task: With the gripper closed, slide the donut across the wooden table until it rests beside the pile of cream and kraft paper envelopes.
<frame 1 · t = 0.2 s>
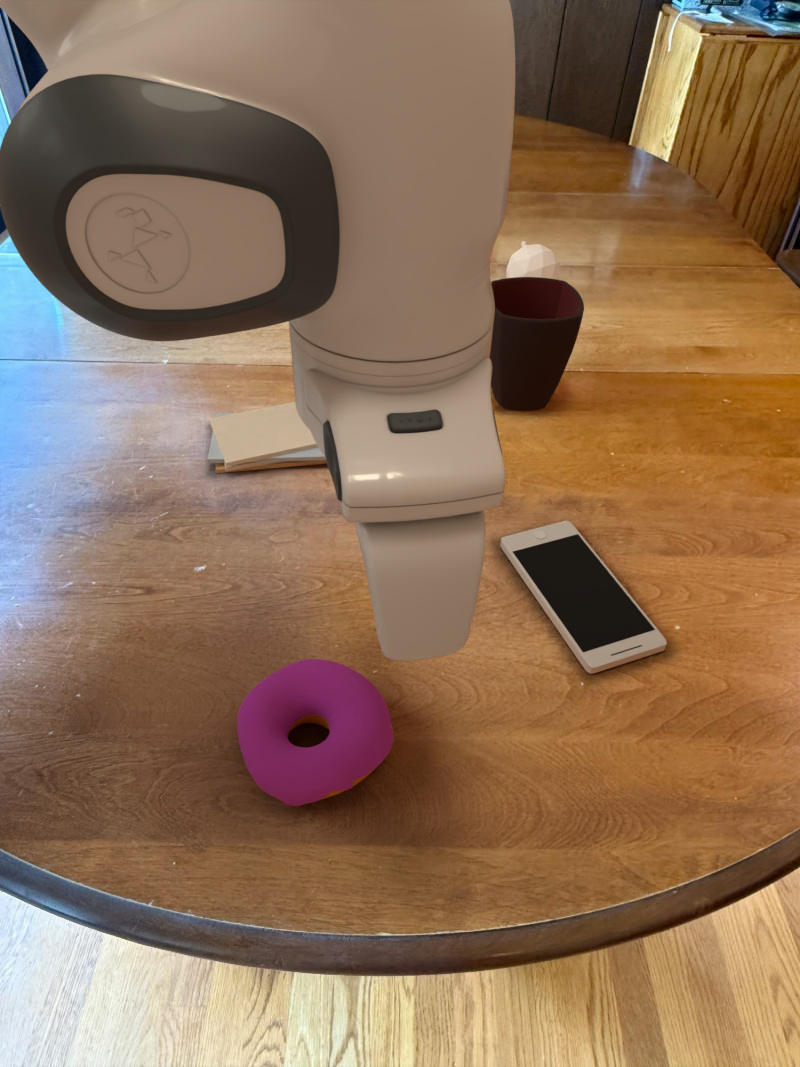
hand: (387, 580, 45), 16 cm above the table, tool pointing down, fingers open, 8 cm apart
smartphone: (576, 595, 65), on the table
ornament: (529, 298, 106), on the table
letter pile: (275, 444, 80), on the table
donut: (316, 747, 54), on the table
cup: (517, 389, 89), on the table
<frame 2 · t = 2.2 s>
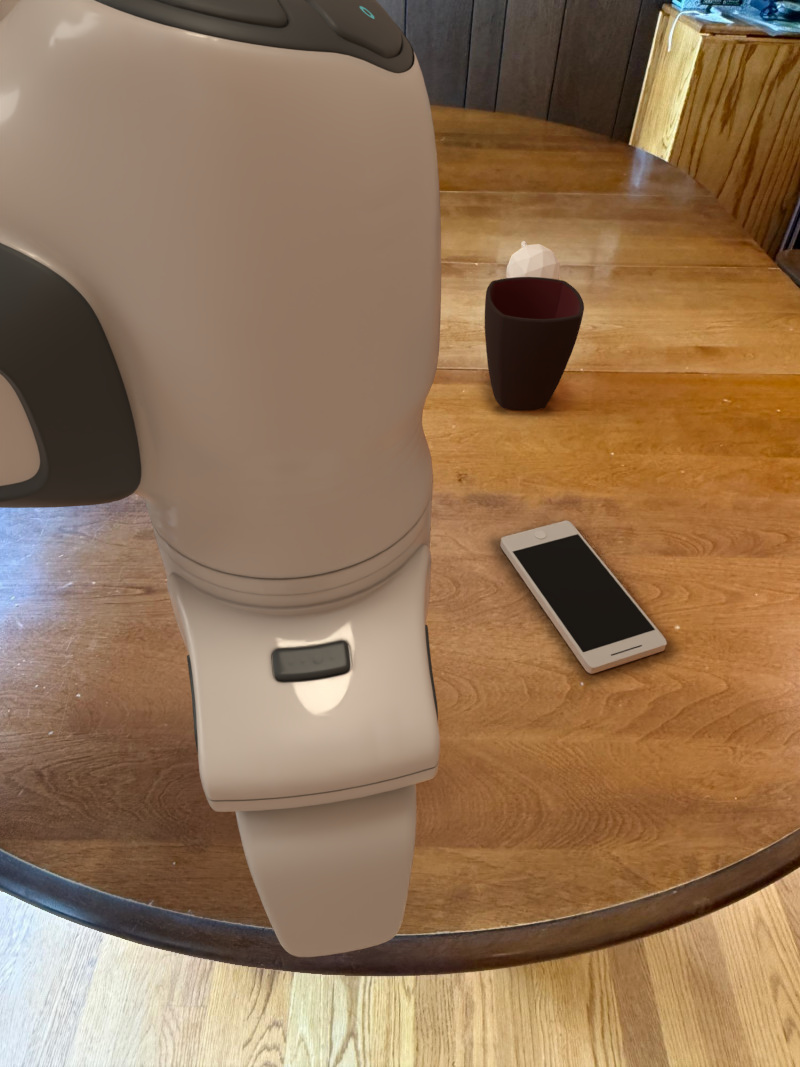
hand: (323, 763, 35), 16 cm above the table, tool pointing down, fingers closed
nothing on the table moved.
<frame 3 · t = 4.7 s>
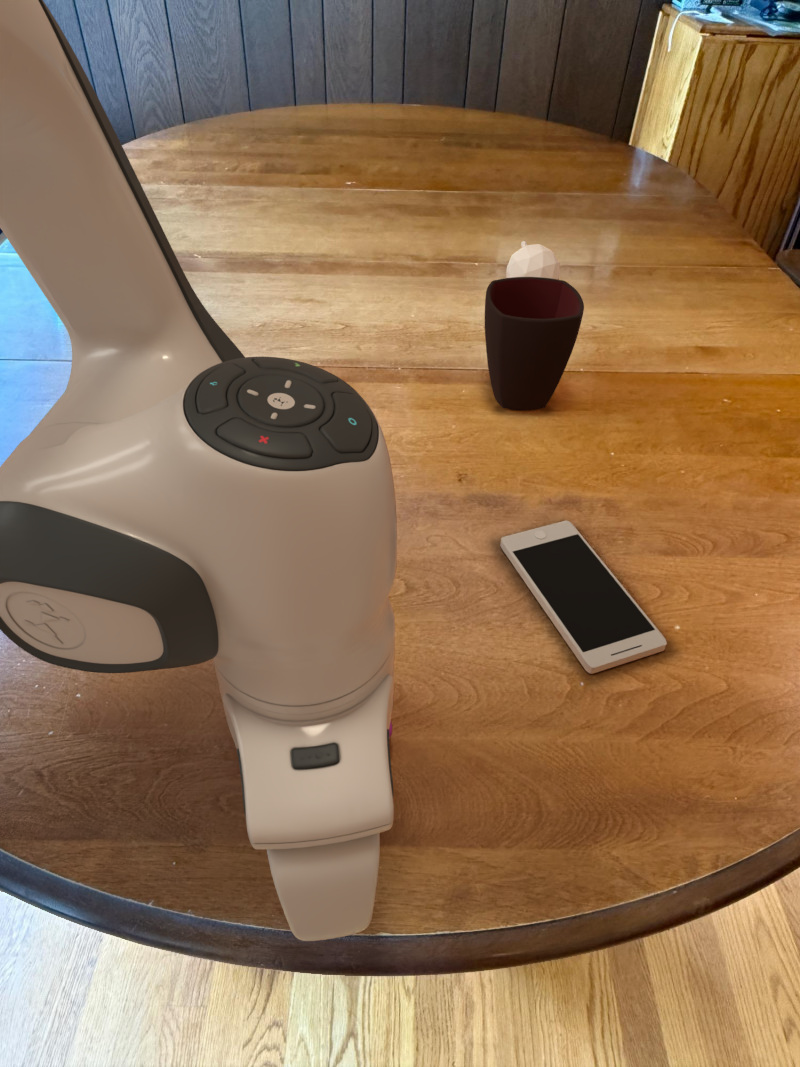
hand: (320, 802, 48), 3 cm above the table, tool pointing down, fingers closed
donut: (315, 737, 55), on the table, touching gripper
everything else where it was.
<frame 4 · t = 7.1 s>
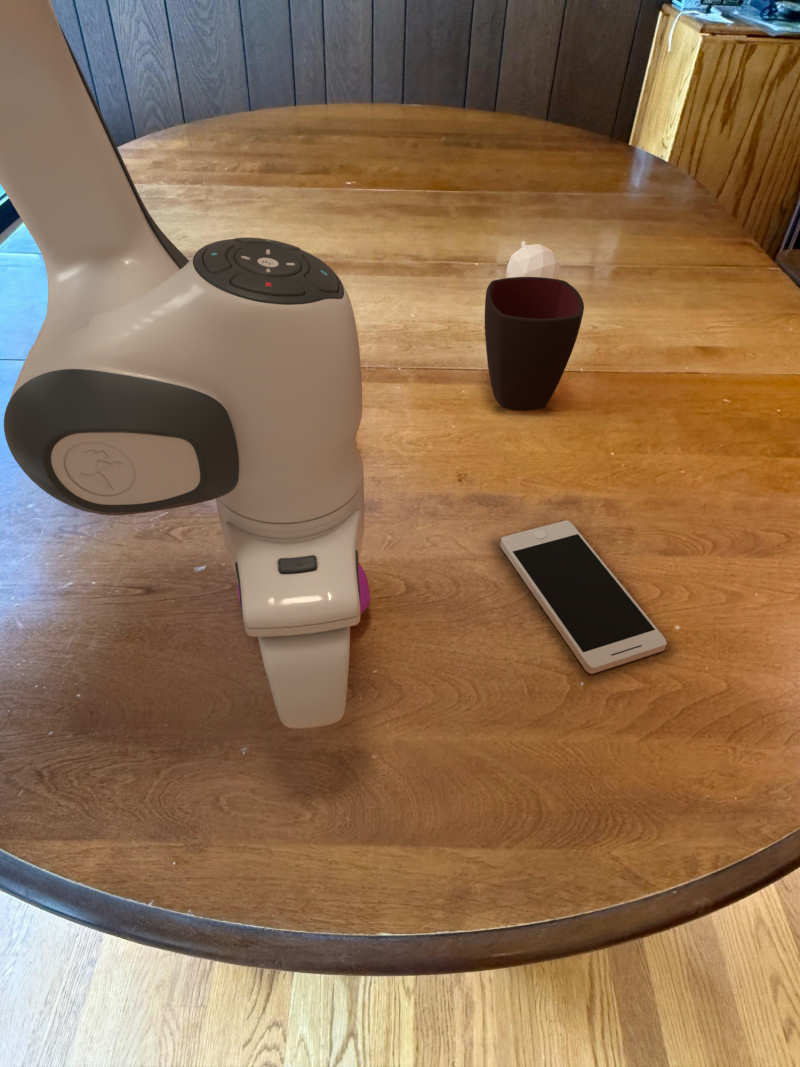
hand: (306, 652, 57), 3 cm above the table, tool pointing down, fingers closed
donut: (305, 611, 64), on the table, touching gripper
everything else where it was.
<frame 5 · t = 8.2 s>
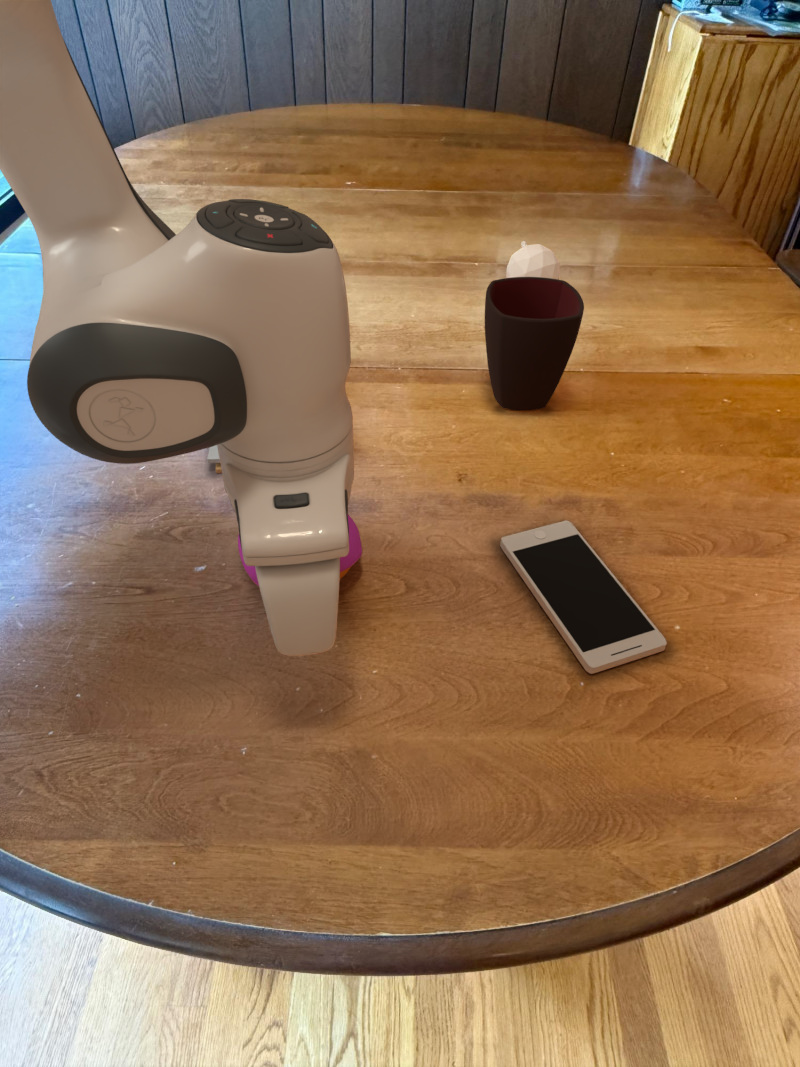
hand: (301, 597, 61), 3 cm above the table, tool pointing down, fingers closed
donut: (301, 564, 68), on the table, touching gripper
everything else where it was.
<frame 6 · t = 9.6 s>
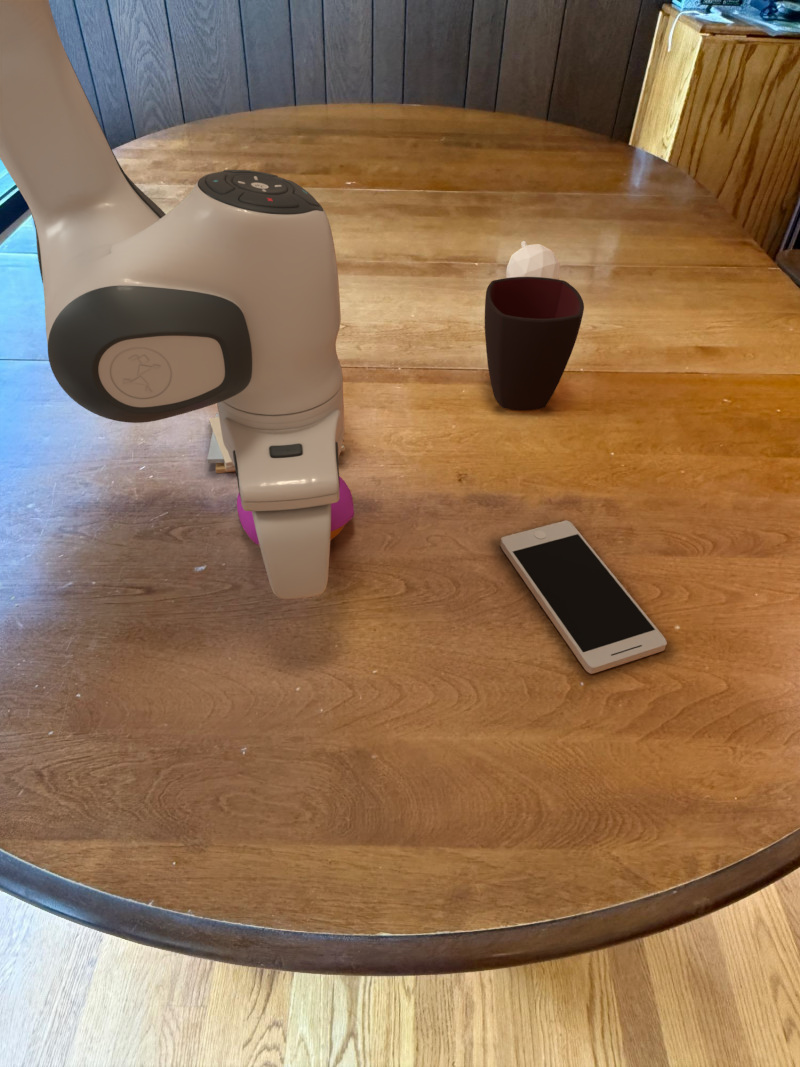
hand: (296, 553, 65), 3 cm above the table, tool pointing down, fingers closed
donut: (296, 525, 71), on the table, touching gripper
everything else where it was.
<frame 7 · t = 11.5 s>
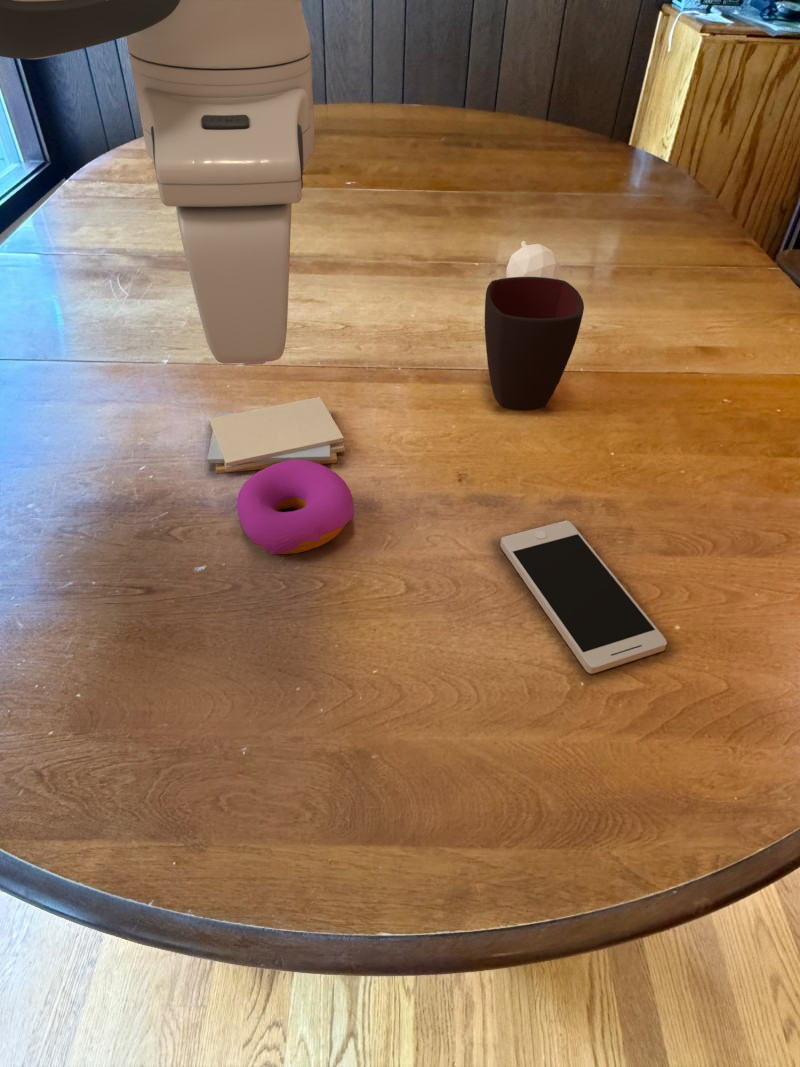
hand: (253, 353, 49), 23 cm above the table, tool pointing down, fingers closed
donut: (296, 525, 71), on the table
everything else where it was.
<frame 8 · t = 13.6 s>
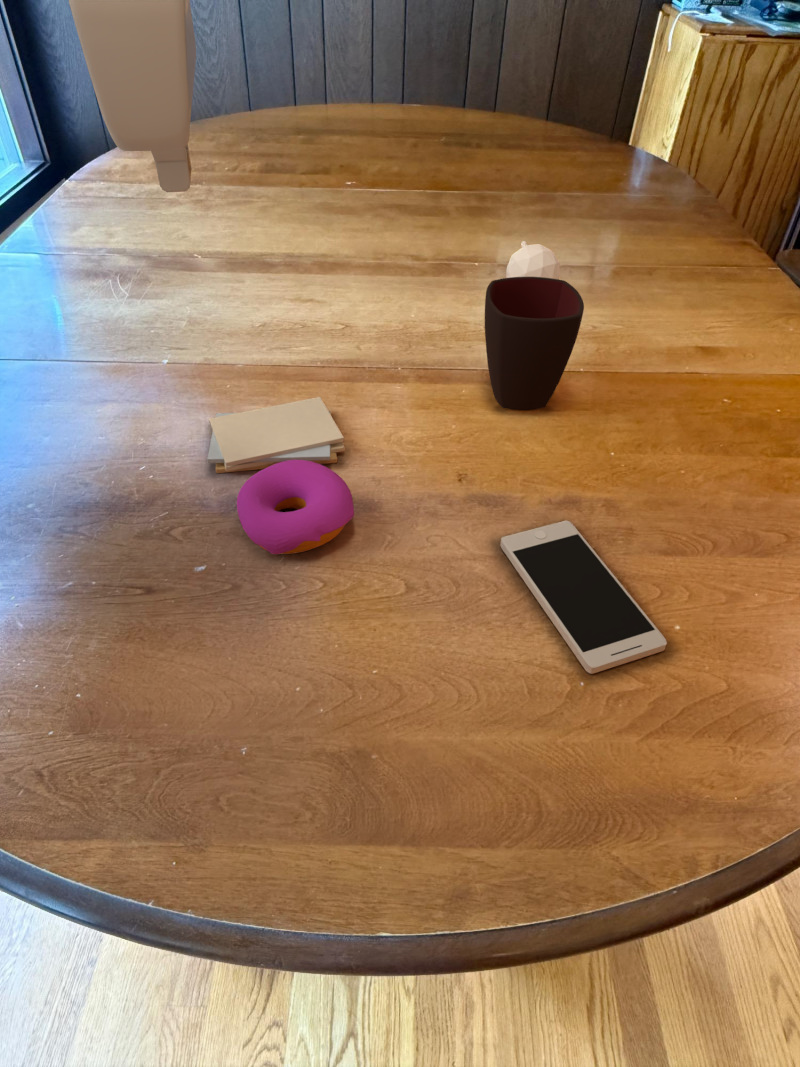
hand: (177, 184, 48), 31 cm above the table, tool pointing down, fingers closed
nothing on the table moved.
at the end: donut 12.7 cm from the letter pile (horizontally); donut moved 23.4 cm from its start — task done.
